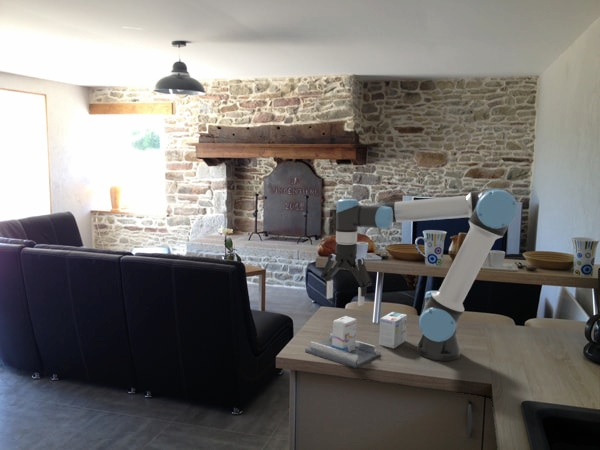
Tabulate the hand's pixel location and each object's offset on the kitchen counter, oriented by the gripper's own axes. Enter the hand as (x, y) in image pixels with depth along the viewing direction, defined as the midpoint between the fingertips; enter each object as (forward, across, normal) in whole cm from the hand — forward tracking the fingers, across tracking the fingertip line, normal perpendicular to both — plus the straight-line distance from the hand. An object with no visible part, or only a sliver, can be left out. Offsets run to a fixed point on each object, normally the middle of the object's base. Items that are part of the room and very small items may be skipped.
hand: (344, 301), depth 189 cm
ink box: (+19, 0, 0) cm, 19 cm away
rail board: (+19, 0, 0) cm, 19 cm away
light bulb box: (+20, -8, -22) cm, 30 cm away
